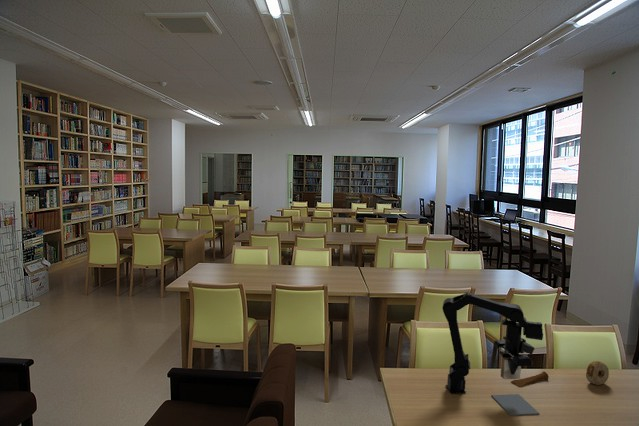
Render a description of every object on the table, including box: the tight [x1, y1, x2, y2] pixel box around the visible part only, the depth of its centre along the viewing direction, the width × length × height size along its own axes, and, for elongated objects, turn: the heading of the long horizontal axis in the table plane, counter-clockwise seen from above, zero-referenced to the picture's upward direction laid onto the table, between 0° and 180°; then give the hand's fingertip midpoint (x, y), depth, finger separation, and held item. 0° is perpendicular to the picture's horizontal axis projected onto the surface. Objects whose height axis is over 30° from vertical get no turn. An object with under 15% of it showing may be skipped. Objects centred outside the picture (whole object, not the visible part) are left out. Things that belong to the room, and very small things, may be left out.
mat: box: [490, 393, 541, 417], centre depth 166 cm, size 12×14×1 cm
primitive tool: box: [510, 371, 550, 389], centre depth 186 cm, size 19×6×4 cm, turn 114°
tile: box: [500, 357, 522, 380], centre depth 169 cm, size 7×2×8 cm, turn 96°
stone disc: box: [585, 360, 610, 386], centre depth 185 cm, size 10×4×10 cm, turn 104°
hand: (510, 372), depth 169 cm, fingers closed on tile, 2 cm apart
